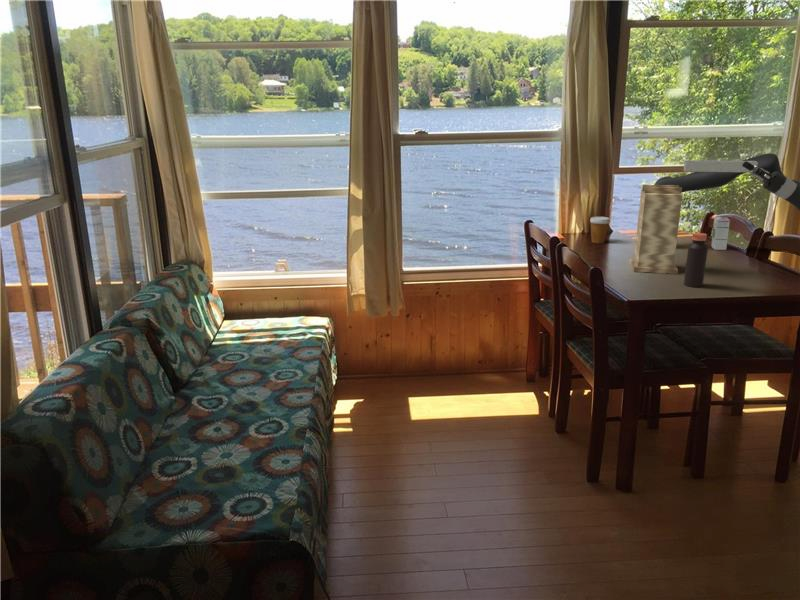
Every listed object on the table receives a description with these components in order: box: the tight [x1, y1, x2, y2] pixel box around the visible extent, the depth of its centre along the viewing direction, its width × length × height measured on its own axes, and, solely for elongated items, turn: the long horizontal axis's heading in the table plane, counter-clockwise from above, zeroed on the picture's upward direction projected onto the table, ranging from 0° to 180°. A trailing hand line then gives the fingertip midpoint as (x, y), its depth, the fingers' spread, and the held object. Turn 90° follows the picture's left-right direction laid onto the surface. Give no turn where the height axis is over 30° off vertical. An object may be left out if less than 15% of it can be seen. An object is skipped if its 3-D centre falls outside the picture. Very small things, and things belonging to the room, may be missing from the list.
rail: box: [683, 159, 758, 173], centre depth 261 cm, size 26×4×4 cm, turn 78°
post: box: [628, 184, 683, 275], centre depth 273 cm, size 17×15×34 cm
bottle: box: [683, 232, 708, 288], centre depth 251 cm, size 7×7×20 cm
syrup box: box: [710, 216, 731, 251], centre depth 310 cm, size 6×6×14 cm
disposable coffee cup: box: [589, 216, 611, 244], centre depth 326 cm, size 10×10×12 cm
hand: (742, 162), depth 259 cm, fingers closed on rail, 4 cm apart
